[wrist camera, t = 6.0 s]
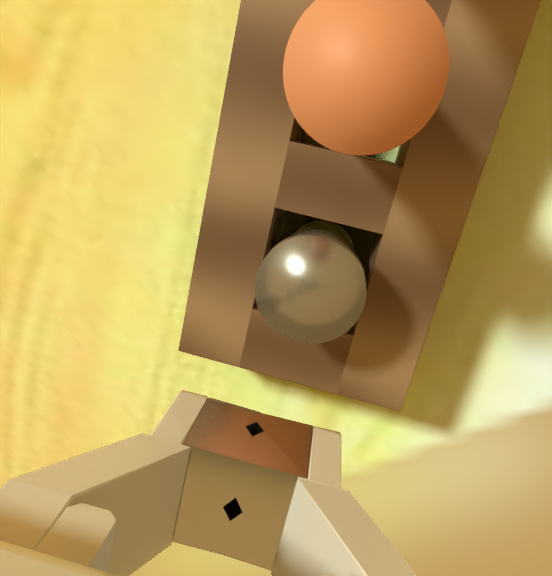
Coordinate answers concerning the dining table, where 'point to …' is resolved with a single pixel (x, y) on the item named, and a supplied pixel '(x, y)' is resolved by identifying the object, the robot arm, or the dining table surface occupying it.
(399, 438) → the dining table surface
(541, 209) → the dining table surface
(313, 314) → the grey metal capped cylinder
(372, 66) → the plunger mid
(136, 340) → the dining table surface
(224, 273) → the walnut block
